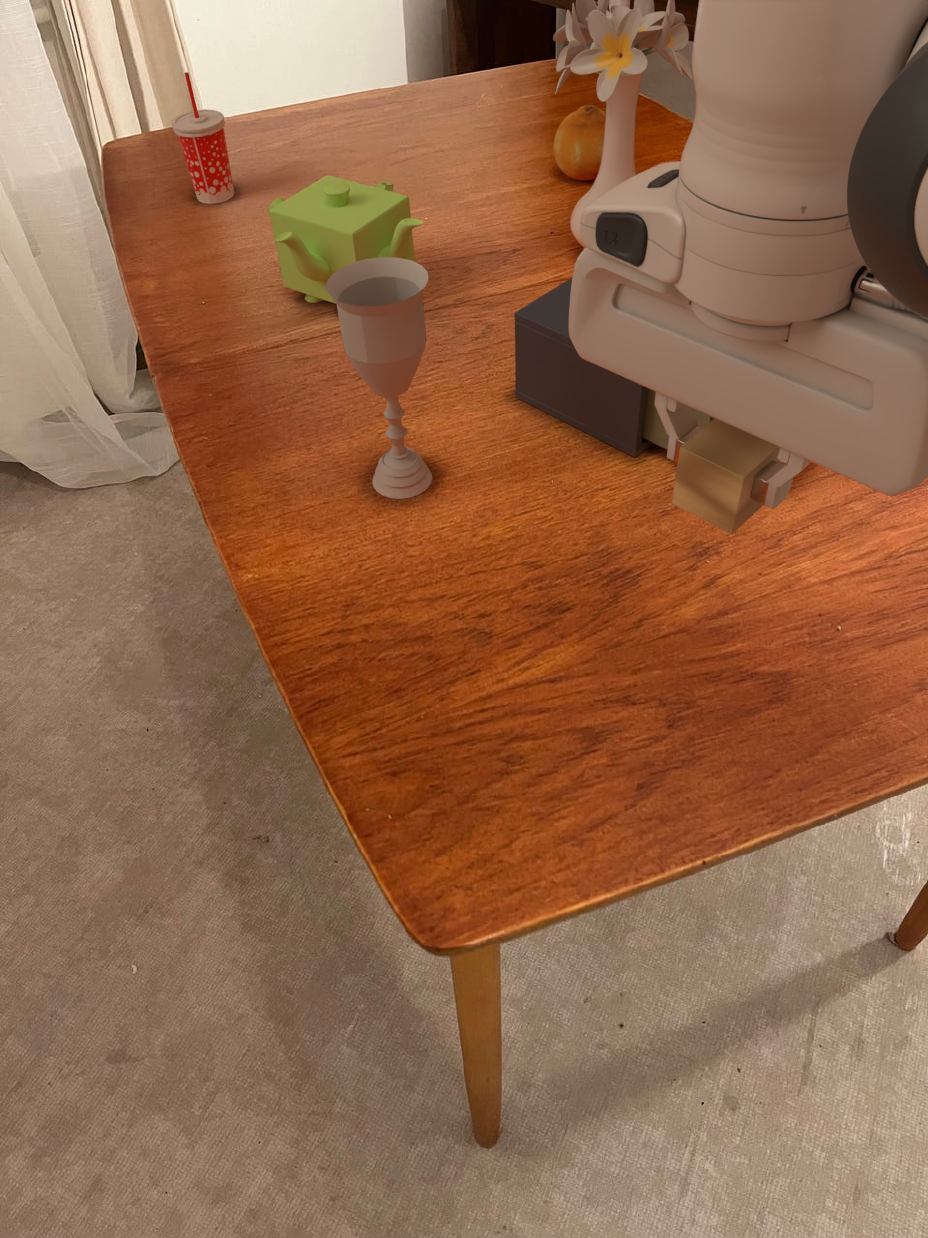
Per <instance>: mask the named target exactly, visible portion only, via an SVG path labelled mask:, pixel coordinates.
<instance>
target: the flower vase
mask: <svg viewBox="0 0 928 1238" xmlns="http://www.w3.org/2000/svg"><path fill="white" fill-rule="evenodd" d="M630 5H631V0H597V4H596V1H595V0H575V3H574V2H572V5H571V11H570V9H567V10H566V13H565V21H564V22H565V24H564V25H563V26H561V27H559V28H558V30H556V32H555V33H554V34H553V36H552V40H553V41H554V42H555V43H556V42H557V43H561V42H562V43H563V42H567V41H568V44H567V46H565V47H564V48H562V50H561V51H560V53H559V55H558V58H557V60H556V64H555V65H556V66H555V71H556V73H559V72H561V71H562V73H561V75H560V76H559V80H558V82H557V85H556V89H555V92H554V95H557V94H558V93H559V91H560V90H561V88H562V86H563V85H564V84H565V82H566V81H567V80H568V78H569V77H570V75H571V74H572V73H573V74H576V75H580V76H585V75H591V74H595V73H599V75H598V77H597V81H596V87H595V88H596V96H597V98H598V100H599V101H600V102H605V112H606V120H605V132H604V143H603V153H602V160H601V165H600V169H599V172H598V175H597V177H596V179H594V182H593V184H592V185H591V188H589V190H588V191H586V192H585V193H584V194H583V195H582V197H580V198H579V200H578V201H577V202H576V204H575V205H574V207H573V210H572V212H571V215H570V219H569V220H570V221H569V226H570V231H571V232H570V233H571V234H572V236H573V238H574V240H576V242H577V243H578V244H579V245H580V246H581V247H583V250H584V249H585V248H587V247H586V246H585V245H584V243H583V241H582V238H581V232H580V222H581V221H580V220H581V214H582V211H583V209H584V208H585V207H587V206H588V205H589V204H591V203H592V202H593V201H594V200H596V199H597V198H599V197H600V196H601V195H603V194H604V193H606V192H607V191H609V190H610V189H612V188H614V187H615V186H617V185H619V184H620V183H622V182H624V181H626V180H628V179H629V178H631V177H633V176H635V175H637V170H636V161H635V160H636V159H635V158H636V157H635V151H636V149H635V143H636V120H637V107H638V100H639V96H640V95H639V94H640V91H641V86H642V81H643V78H644V75H645V73H646V72H647V70H648V66H649V61H648V58H647V56H648V55H652V54H654V53H658V54H659V55H660V56H661V57H662V58H663V59H664V60H665V61H667V62H668V63H670V64H671V65H672V66H673V67H674V69H676V70H677V72H678V73H679V75H680V76H683V74H684V75H685V76H686V77H687V78H688V79H689V80H691V81H694V78H693V72H692V66H691V65H690V63H689V61H688V59H687V57H686V56H685V55H684V54H683V53H681V52H678V51H680V50H683V49H684V48H685V47H687V45H688V43H689V38H690V34H689V28H688V26H687V25H686V24H685V22H686V17H685V16H684V15H685V14H682V13H681V12H677V11H676V3H675V0H667V5H666V8H665V10H664V11H663V10H660V11H659V10H658V11H655V2H654V0H634V1H633V8H630ZM579 20H580V21H579ZM591 41H592V43H591V45H590V47H588V45H587V43H589V42H591ZM644 48H645V49H644ZM642 49H644V50H642Z"/></svg>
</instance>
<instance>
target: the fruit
mask: <svg viewBox="0 0 928 1238" xmlns="http://www.w3.org/2000/svg"><path fill="white" fill-rule="evenodd" d="M605 120H606V110H605V111H604V110H602V109H600V108H599V107H598V106H595V105H593V104H587V105H582V106H580V107H579V108H578V109H577V110H575V111H572V112H570V113H569V114H568V115H567V116H566V117H565V118H563V120H562V121H561V123H560V124H559V126H558V128H557V130H556V132H555V135H554V139H553V145H552V154H553V159H554V161H555V164H556V165H557V167H558V169H560V171H561V172H562V173H563V174H564V175H566V176H567V177H568V178H571V179H573V180H577V181H592V180H596V177H597V175H598V172H599V169H600V165H601V160H602V153H603V143H604V132H605Z"/></svg>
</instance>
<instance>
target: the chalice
mask: <svg viewBox="0 0 928 1238" xmlns="http://www.w3.org/2000/svg"><path fill="white" fill-rule="evenodd" d="M429 280H430V279H429V272H428V271H427V269H426V268H425V267H423V265H422V264H419V262H418V263H417V262H416V261H415V262H413V261H411V260H407V259H402V258H392V257H380V258H371V259H365V260H362V261H358V262H354V263H351V264H349V265H347V266H345V267H342V268H340V269H339V270H338V271H336V272H335V273H334V274H332V275H331V277H330V278H329V280H328V281H327V292H328V293H329V294H330V296H331V297H332V298H333V300H334V301H335V302H336V309H337V317H338V322H339V330H340V334H341V341H342V347H343V351H344V352H345V354H346V356H347V358H348V359H349V361H350V363H351V364H352V366H353V367H354V370H355V371H356V372H357V374H358V375H359V376H360V377H361V379H362V380H363V381H364V383H365V384H366V385H367V386H368V388H369V389H370V390H371V391H372V392H373V394H374V395H375V396H377V397H380V398H385V401H386V404H385V410H384V411H383V416H384V417H385V418H386V420H387V421H388V428H387V429H385V432H384V434H385V436H386V437H387V438H388V439H389V440H390V442H391V448H389V449H388V450H386V451H385V452H384V453H383V454H382V455H381V456H380V458H379V460H378V462H377V466H376V468H375V471H374V474H373V477H372V487H373V488H374V490H375V492H377V494H380V495H381V496H383V497H386V498H389V499H398V500H403V499H410V498H413V497H417V496H419V495H421V494H422V493H423V492H425V491H426V490H427V489H428V488H429V487H430V486H431V484H432V482H433V472H432V471H431V470H430V468H429V467H428V466H427V464H426V462H425V460H424V459H423V458H422V457H423V456H421V454H420V453H419V452H417V451H415V450H414V449H413V448H411V447H407V446H405V444H404V442H405V437H406V436H407V434H408V433H409V432H408V428H407V427H405V426H403V425H404V424H403V423H402V418H403V416H404V414H405V410H404V408H402V407H401V403H400V401H399V397H400V396H402V395H404V394H405V393H407V391H408V390H409V388H410V386H411V384H412V381H413V380H414V377H415V375H416V373H417V371H418V368H419V366H420V364H421V361H422V357H423V354H424V352H425V348H426V344H427V341H428V340H427V330H426V329H427V328H426V319H425V318H426V317H425V307H424V296H423V294H424V291H425V289H426V287H427V284H428V283H429Z"/></svg>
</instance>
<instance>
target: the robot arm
mask: <svg viewBox="0 0 928 1238" xmlns="http://www.w3.org/2000/svg"><path fill="white" fill-rule="evenodd" d="M694 28H695V29H694V36H693V43H692V53H691V70H692V73H693V83H694V90H695V112H694V119H693V123H692V127H691V130H690V133H689V135H688V137H687V140H686V142H685V144H684V147H683V150H682V154H681V157H680V161H679V160H677V161H667V162H662V163H659V164H656V165H655V166H652V167H650V168H648V169H646V170H643V171H641V172H639V173H636V175H635V176H633V177H631V178H629V179H628V180H626V181H624V182H622V183H620V184H619V185H617V186H615V187H614V188H612V189H610V190H609V191H607V192H606V193H604V194H603V195H601V196H600V197H599V198H597V199H596V200H594V201H593V202H592V203H591V204H589V205H588V206H587V207H585V208H584V209H583V211H582V214H581V220H580V221H581V222H580V232H581V238H582V241H583V243H584V245H585V246H586V247H587V248H585V249H584V248H583V250H582V251H581V252H580V253H579V255H578V256H577V258H576V260H575V264H574V266H573V272H572V277H573V278H572V277H571V278H572V285H571V294H570V306H569V336H570V339H571V341H572V343H573V345H574V347H575V349H576V351H577V353H578V354H579V356H580V357H581V358H582V359H584V360H586V361H589V362H591V363H593V364H596V365H598V366H600V367H602V368H604V369H607V370H609V371H611V372H613V373H616V374H618V375H620V376H622V377H625V378H627V379H629V380H631V381H633V382H636V383H638V384H640V385H642V386H645V387H647V388H649V389H651V390H653V391H656V394H655V403H654V404H655V407H656V409H657V411H658V414H659V416H660V418H661V421H662V423H663V425H664V428H665V430H666V432H667V435H669V442H668V450H667V451H666V459H669V460H671V461H673V462H675V463H676V464H678V457H679V450H680V447H681V446H682V445H683V444H685V443H686V442H687V441H688V440H689V439H691V438H692V437H693V436H694V435H695V434H697V433H698V432H699V431H700V430H702V429H703V428H702V427H700V426H698V425H697V421H696V418H695V414H694V411H693V408H694V409H696V410H698V411H700V412H702V413H705V414H707V415H709V416H711V417H714V418H716V419H718V420H720V421H722V422H725V423H727V424H729V425H731V426H734V427H736V428H738V429H740V430H742V431H745V432H747V433H749V434H751V435H754V436H756V437H758V438H760V439H762V440H765V441H767V442H769V443H771V444H774V445H776V446H778V447H780V450H779V455H778V459H779V461H780V463H778V462H776V461H773V460H772V461H771V462H770V463H768V464H767V465H766V466H765V468H764V469H762V470H761V471H760V472H759V473H757V474H756V475H755V476H754V480H753V485H752V488H753V490H752V491H751V494H750V498H751V499H753V500H755V501H757V502H759V503H761V504H763V506H765V507H767V508H769V509H771V510H775V509H776V508H777V507H779V506H780V505H781V504H782V503H783V502H784V501H785V500H786V499H787V497H788V496H789V493H790V492H791V489H792V485H793V481H794V477H796V476H797V475H799V474H800V473H802V472H803V470H805V468H807V467H808V466H809V465H810V464H811V463H814V464H815V465H818V466H820V467H823V468H824V469H826V470H829V471H832V472H834V473H835V474H838V475H840V476H842V477H845V478H847V479H849V480H851V481H853V482H856V483H858V484H861V485H862V486H865V487H867V488H869V489H871V490H873V491H876V492H878V493H881V494H883V495H886V496H889V497H897V496H900V495H902V494H906V493H907V492H909V491H910V492H911V491H912V490H914V489H916V488H918V487H919V486H920V485H921V484H923V483H924V482H925V481H926V479H928V0H698V7H697V14H696V21H695V27H694ZM782 463H783V464H782Z"/></svg>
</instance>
